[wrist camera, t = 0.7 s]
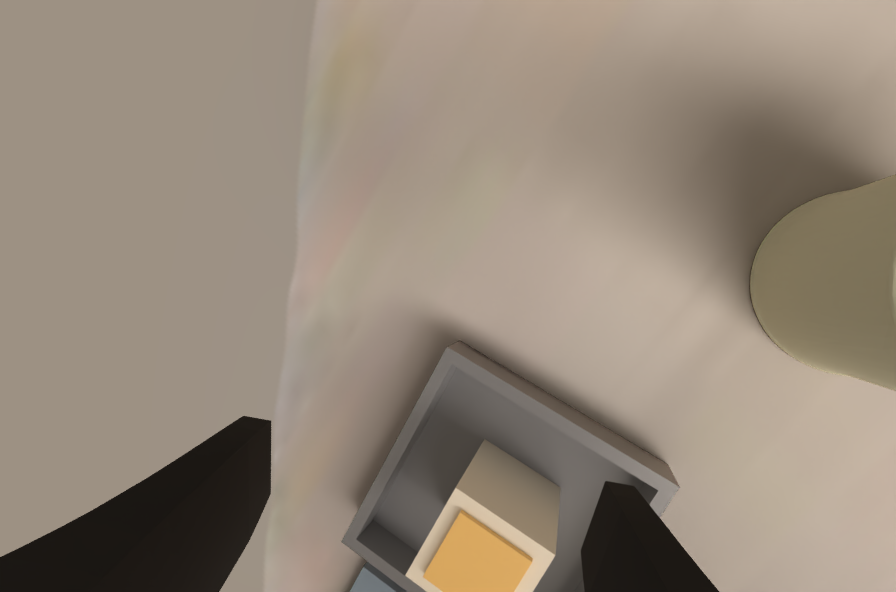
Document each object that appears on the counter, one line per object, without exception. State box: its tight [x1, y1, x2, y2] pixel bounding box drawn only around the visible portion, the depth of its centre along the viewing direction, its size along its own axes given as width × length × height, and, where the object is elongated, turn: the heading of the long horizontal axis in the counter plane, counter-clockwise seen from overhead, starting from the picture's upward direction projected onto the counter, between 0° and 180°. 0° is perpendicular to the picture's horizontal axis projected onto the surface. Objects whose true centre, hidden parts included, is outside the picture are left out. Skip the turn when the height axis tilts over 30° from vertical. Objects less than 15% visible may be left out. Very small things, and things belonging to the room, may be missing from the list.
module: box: [405, 439, 561, 592], centre depth 24 cm, size 5×5×7 cm
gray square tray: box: [341, 341, 680, 592], centre depth 27 cm, size 13×13×3 cm
